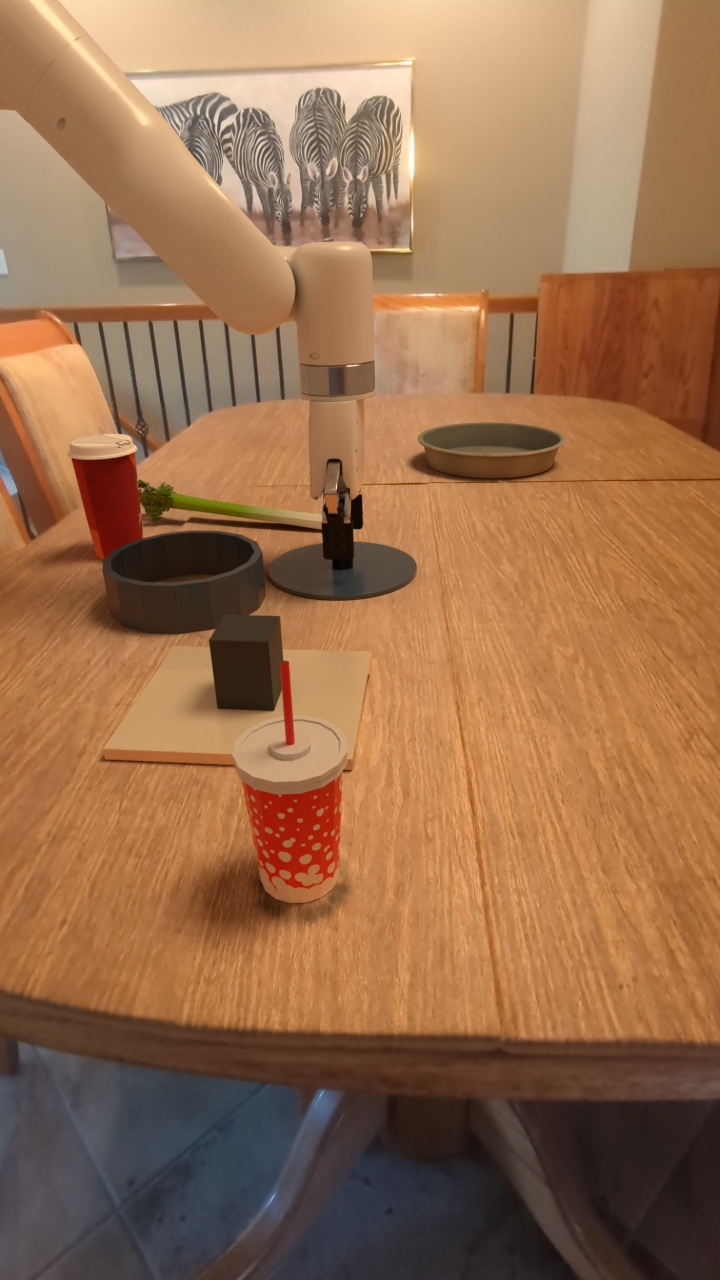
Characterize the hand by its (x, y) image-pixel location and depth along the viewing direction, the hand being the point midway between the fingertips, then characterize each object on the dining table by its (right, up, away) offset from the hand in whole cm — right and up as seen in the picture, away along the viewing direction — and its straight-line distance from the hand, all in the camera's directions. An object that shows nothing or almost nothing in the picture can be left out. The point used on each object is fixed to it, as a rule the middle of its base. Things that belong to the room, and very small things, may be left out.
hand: (344, 542), depth 83 cm
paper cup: (-28, -1, +9) cm, 29 cm away
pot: (-16, -7, -5) cm, 18 cm away
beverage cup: (-2, -24, -39) cm, 46 cm away
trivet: (-7, -16, -23) cm, 29 cm away
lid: (0, -3, +1) cm, 3 cm away
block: (-7, -15, -23) cm, 29 cm away
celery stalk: (-16, +5, +19) cm, 25 cm away
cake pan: (+24, +19, +46) cm, 55 cm away
